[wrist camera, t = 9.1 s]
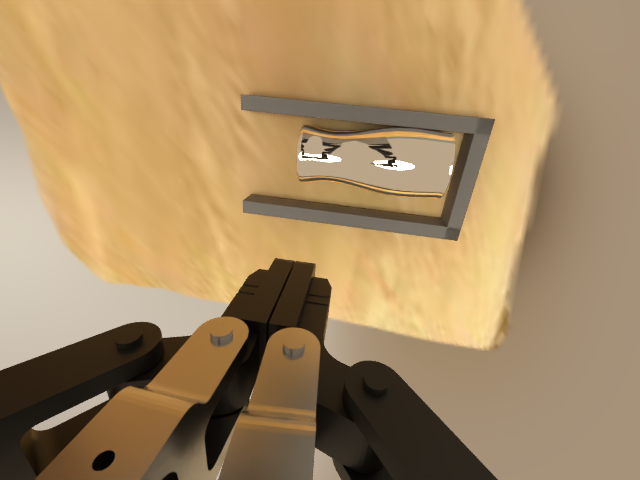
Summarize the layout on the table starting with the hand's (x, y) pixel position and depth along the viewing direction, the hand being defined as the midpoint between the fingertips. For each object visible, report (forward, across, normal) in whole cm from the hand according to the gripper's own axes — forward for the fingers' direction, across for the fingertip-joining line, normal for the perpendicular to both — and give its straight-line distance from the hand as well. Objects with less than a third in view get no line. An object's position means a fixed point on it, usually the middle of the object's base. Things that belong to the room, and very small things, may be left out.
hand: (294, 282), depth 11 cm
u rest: (+26, -1, 0) cm, 26 cm away
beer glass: (+23, +4, -1) cm, 24 cm away
